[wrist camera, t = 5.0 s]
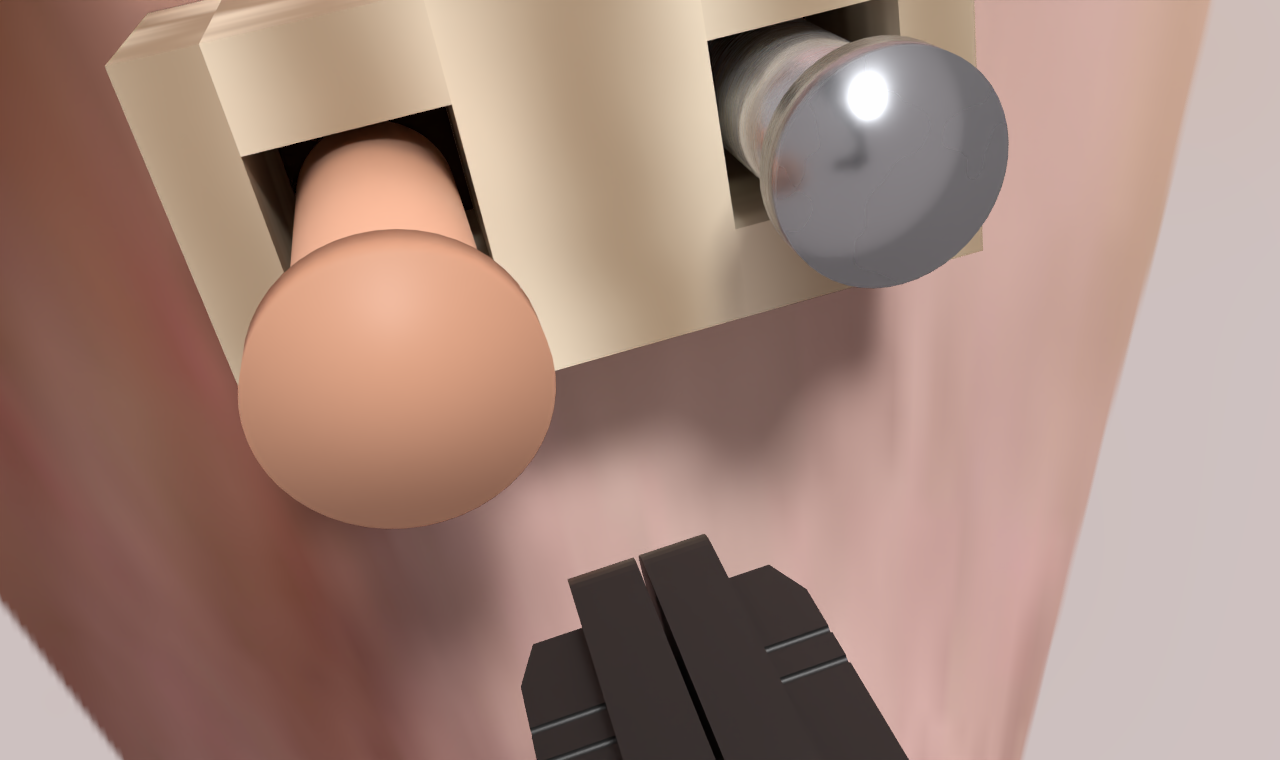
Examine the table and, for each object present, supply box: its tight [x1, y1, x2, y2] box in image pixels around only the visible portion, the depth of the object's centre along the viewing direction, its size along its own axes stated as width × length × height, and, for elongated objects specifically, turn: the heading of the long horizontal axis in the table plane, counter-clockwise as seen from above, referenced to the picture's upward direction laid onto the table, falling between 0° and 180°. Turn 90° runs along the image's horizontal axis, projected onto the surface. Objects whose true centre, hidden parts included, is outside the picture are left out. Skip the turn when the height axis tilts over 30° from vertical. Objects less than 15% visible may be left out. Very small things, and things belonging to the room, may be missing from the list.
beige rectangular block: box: [105, 0, 983, 384], centre depth 28 cm, size 18×9×6 cm, turn 101°
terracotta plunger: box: [238, 121, 556, 529], centre depth 22 cm, size 5×5×10 cm
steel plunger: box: [707, 18, 1008, 288], centre depth 26 cm, size 5×5×10 cm
